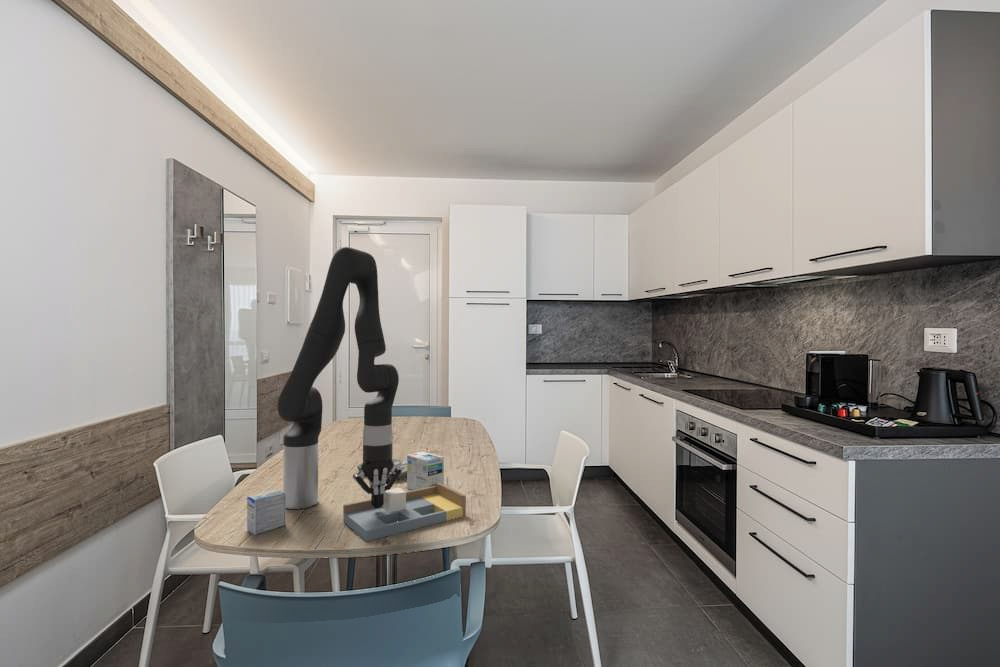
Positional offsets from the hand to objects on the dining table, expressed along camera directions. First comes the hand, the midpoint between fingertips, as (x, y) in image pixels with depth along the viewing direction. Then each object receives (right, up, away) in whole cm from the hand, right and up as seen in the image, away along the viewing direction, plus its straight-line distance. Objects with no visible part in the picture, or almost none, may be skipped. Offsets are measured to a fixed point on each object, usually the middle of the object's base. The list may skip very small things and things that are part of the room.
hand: (377, 507), depth 134 cm
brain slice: (-7, -3, +43) cm, 44 cm away
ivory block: (+4, -1, +3) cm, 5 cm away
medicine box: (-26, -4, -5) cm, 27 cm away
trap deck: (+7, -4, +2) cm, 8 cm away
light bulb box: (+9, -4, +26) cm, 28 cm away
